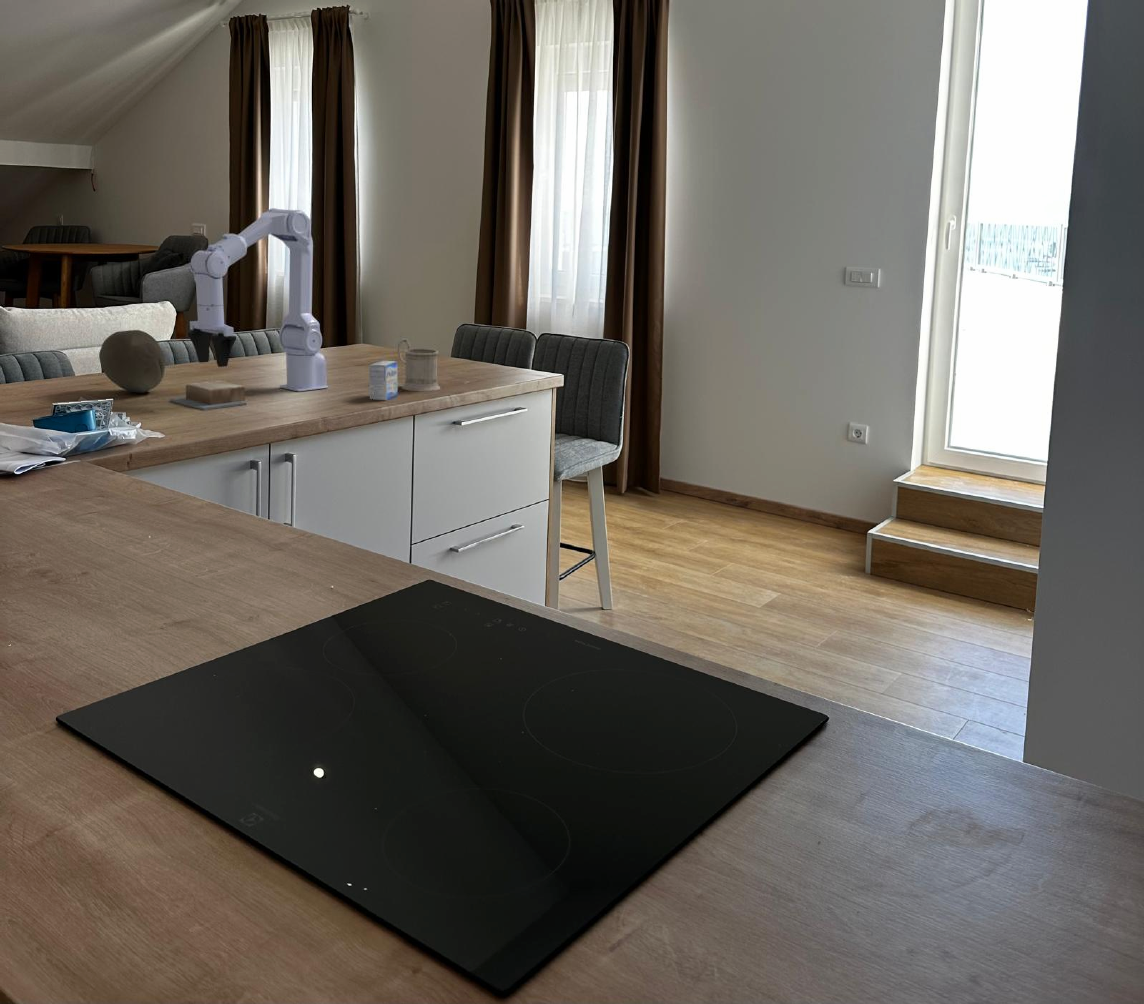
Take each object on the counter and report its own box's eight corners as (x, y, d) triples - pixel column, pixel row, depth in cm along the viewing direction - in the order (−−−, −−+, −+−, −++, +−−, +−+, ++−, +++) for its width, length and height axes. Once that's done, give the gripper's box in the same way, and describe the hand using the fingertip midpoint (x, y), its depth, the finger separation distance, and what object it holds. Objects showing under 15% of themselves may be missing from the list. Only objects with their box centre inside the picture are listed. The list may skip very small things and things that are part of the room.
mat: (211, 395, 266) (211, 393, 265) (246, 404, 257) (246, 402, 257) (170, 401, 257) (170, 398, 257) (204, 410, 249) (204, 408, 249)
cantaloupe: (150, 386, 275) (147, 325, 271) (176, 394, 265) (173, 331, 261) (93, 391, 265) (88, 328, 261) (118, 400, 256) (113, 335, 252)
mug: (447, 389, 289) (448, 342, 286) (418, 392, 282) (418, 345, 279) (412, 381, 298) (413, 336, 295) (383, 384, 291) (383, 338, 288)
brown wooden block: (219, 380, 264) (185, 383, 257) (244, 385, 258) (210, 389, 251) (220, 394, 265) (186, 398, 258) (244, 400, 259) (210, 405, 252)
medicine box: (386, 401, 269) (386, 365, 267) (369, 399, 270) (368, 364, 268) (397, 395, 276) (397, 361, 274) (380, 394, 277) (380, 359, 275)
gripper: (176, 302, 254) (180, 361, 258) (213, 308, 245) (215, 369, 249) (204, 301, 259) (206, 359, 263) (240, 307, 250) (242, 367, 254)
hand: (213, 364), depth 256 cm, fingers open, 7 cm apart
